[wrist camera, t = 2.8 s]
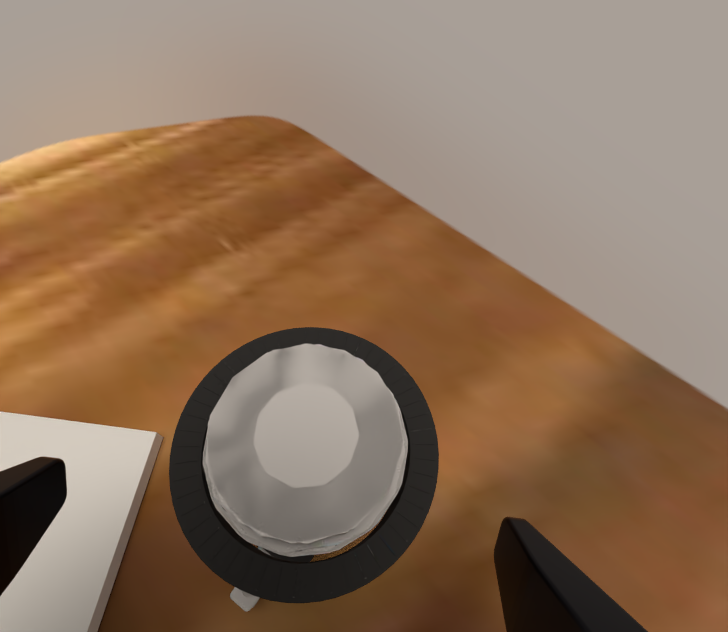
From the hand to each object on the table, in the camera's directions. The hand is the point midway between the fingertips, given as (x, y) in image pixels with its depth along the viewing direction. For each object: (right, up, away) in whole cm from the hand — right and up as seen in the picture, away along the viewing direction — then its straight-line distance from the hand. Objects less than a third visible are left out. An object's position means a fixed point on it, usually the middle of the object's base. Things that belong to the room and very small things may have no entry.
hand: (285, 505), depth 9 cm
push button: (-1, -4, +8) cm, 8 cm away
